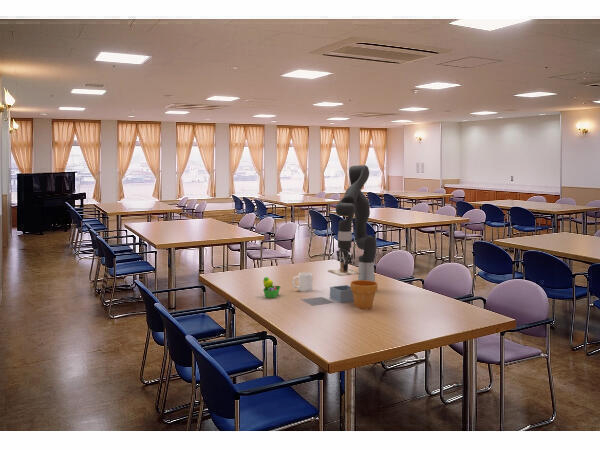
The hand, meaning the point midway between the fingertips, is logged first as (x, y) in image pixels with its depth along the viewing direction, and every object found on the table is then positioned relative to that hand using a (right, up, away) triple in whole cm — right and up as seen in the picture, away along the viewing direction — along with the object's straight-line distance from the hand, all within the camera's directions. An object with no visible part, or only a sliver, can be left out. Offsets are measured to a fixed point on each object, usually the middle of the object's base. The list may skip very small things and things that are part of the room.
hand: (343, 269), depth 293 cm
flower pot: (+9, -19, -11) cm, 24 cm away
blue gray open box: (0, -17, +2) cm, 17 cm away
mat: (-15, -17, -3) cm, 23 cm away
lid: (0, -2, 0) cm, 2 cm away
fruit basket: (-41, -16, +8) cm, 45 cm away
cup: (-23, -15, +24) cm, 36 cm away
